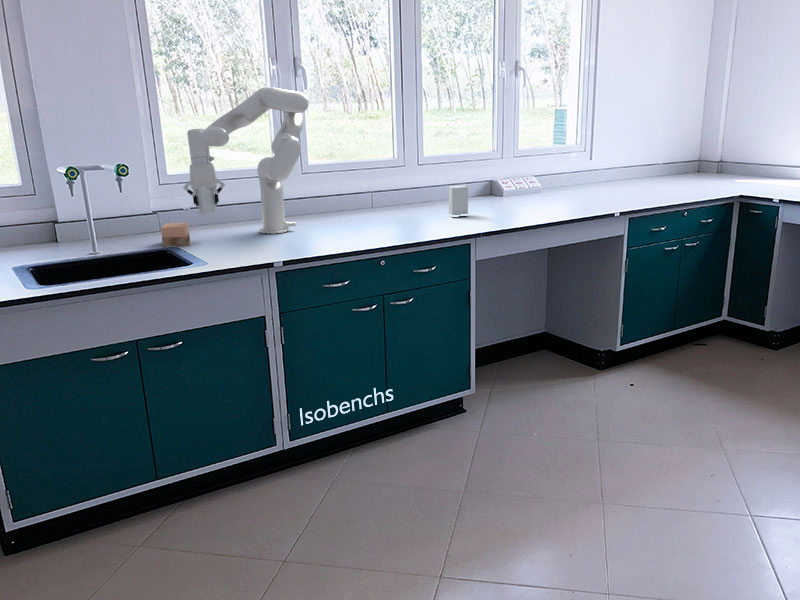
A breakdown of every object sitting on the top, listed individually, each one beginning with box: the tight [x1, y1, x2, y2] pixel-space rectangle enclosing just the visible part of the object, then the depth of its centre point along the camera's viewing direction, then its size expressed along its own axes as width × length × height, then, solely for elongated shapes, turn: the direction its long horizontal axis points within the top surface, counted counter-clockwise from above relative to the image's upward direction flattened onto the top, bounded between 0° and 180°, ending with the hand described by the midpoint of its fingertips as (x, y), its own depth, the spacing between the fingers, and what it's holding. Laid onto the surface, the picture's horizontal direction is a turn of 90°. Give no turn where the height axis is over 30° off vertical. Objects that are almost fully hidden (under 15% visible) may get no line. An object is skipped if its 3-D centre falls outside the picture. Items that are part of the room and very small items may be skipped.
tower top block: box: [160, 222, 190, 239], centre depth 260 cm, size 9×9×4 cm
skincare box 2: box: [448, 184, 469, 215], centre depth 315 cm, size 8×6×15 cm
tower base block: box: [161, 233, 191, 248], centre depth 261 cm, size 10×10×4 cm
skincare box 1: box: [196, 186, 218, 217], centre depth 266 cm, size 6×4×12 cm
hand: (206, 204), depth 266 cm, fingers closed on skincare box 1, 7 cm apart
